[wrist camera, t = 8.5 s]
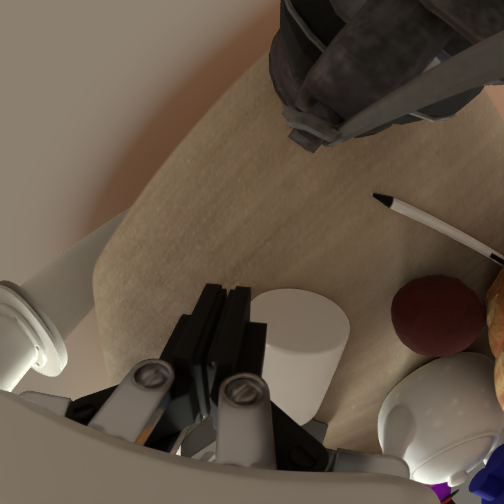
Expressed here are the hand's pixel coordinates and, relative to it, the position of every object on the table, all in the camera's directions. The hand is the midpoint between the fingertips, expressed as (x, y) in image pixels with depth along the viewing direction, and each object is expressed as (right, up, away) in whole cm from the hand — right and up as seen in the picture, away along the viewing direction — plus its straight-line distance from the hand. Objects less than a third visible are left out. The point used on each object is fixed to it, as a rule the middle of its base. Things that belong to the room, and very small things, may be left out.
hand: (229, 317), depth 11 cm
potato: (+17, -2, +12) cm, 21 cm away
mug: (+2, -5, +16) cm, 17 cm away
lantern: (+7, +15, +6) cm, 18 cm away
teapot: (+25, -15, +18) cm, 34 cm away
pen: (+19, +4, +9) cm, 21 cm away
